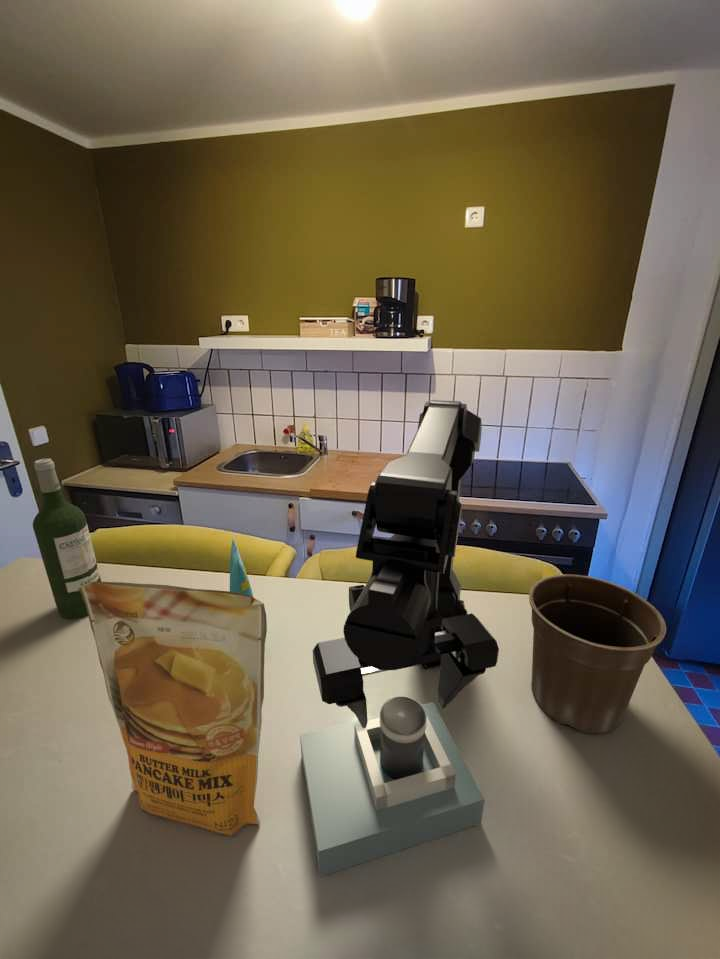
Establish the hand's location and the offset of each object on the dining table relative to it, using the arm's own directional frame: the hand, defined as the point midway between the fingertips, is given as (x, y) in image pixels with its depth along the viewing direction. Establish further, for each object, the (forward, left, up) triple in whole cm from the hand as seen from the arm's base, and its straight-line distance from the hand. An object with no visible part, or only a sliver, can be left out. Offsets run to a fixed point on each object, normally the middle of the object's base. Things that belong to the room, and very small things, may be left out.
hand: (403, 714), depth 47 cm
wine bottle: (+48, -49, -11) cm, 70 cm away
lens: (0, 0, -7) cm, 7 cm away
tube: (+17, -29, -11) cm, 36 cm away
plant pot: (-29, -5, -12) cm, 32 cm away
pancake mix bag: (+23, -5, -11) cm, 26 cm away
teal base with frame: (+2, 0, -11) cm, 11 cm away
